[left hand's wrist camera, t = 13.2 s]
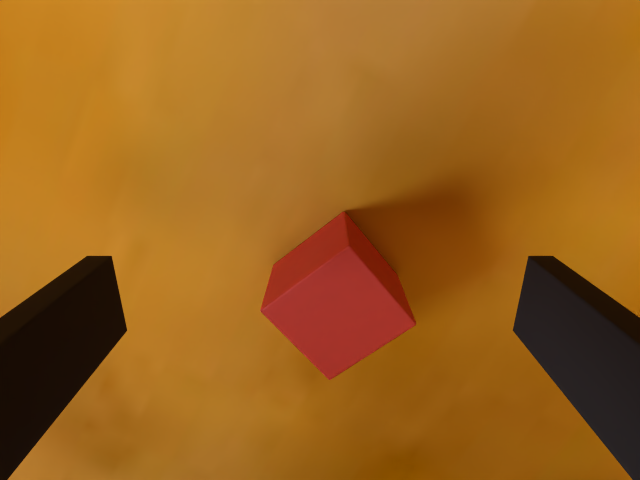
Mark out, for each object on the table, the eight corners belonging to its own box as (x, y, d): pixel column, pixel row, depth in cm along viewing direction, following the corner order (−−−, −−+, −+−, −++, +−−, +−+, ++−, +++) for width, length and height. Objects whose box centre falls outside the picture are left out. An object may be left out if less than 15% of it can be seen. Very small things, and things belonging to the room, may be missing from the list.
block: (344, 210, 20) (349, 244, 16) (398, 276, 22) (417, 324, 17) (272, 264, 21) (259, 311, 17) (328, 323, 23) (329, 381, 18)
